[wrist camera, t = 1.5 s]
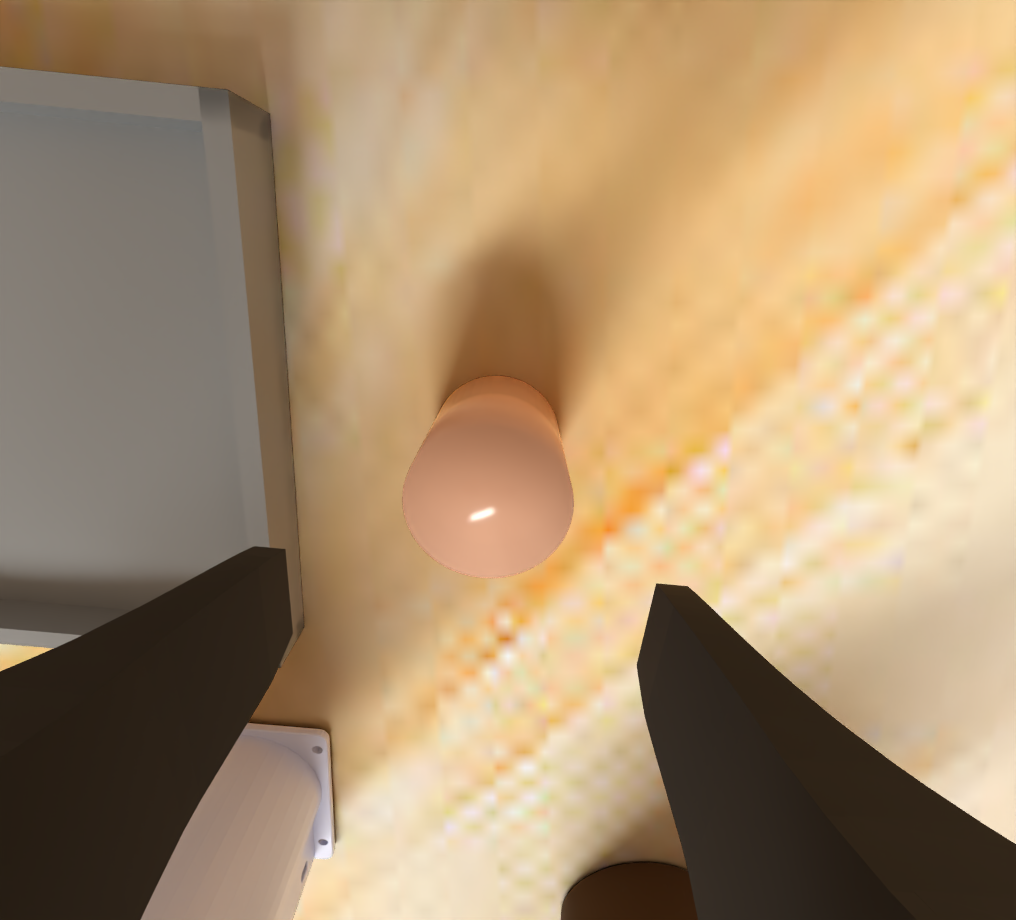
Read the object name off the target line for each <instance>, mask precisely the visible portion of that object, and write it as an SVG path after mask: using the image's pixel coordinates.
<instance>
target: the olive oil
mask: <svg viewBox="0 0 1016 920" xmlns="http://www.w3.org/2000/svg"><path fill="white" fill-rule="evenodd" d="M561 920H698V917H697V912H696V907H695V902H694V897H693V892H692V887H691V882H690V877H689V873H688V871H687V870H684V869H681V868H678V867H675V866H671V865H666V864H660V863H647V862H641V863H628V864H621V865H616V866H612V867H609V868H606V869H603V870H600V871H598V872H595V873H593V874H591V875H589V876H588V877H586V878H584V879H583V880H582V881H580V882H579V883H578V884H577V885H576V886H574V888H573V889H572V890H571V891H570V892H569V894H568V895H567V897H566V898H565V900H564V902H563V905H562V910H561Z"/></svg>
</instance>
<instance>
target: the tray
mask: <svg viewBox="0 0 1016 920" xmlns="http://www.w3.org/2000/svg"><path fill="white" fill-rule="evenodd" d="M253 546H258V547H269V548H280V549H286V560H287V571H288V583H289V594H290V605H291V616H292V627H293V635H292V637H291V639H290V642H289V644H288V647H287V649H286V651H285V654H284V656H283V658H282V661H281V663H280V665H279V668H281V666H282V664H283V663H284V661H285V659H286V658H287V656H288V654H289V652H290V651H291V649H292V647H293V646H294V644H295V642H296V640H297V639H298V637H299V635H300V634H301V632H302V630H303V628H304V615H303V600H302V586H301V571H300V556H299V541H298V526H297V511H296V497H295V482H294V467H293V452H292V437H291V422H290V407H289V393H288V378H287V363H286V348H285V333H284V318H283V303H282V289H281V274H280V259H279V244H278V229H277V214H276V200H275V185H274V170H273V155H272V140H271V125H270V114H269V113H267V112H265V111H264V110H262V109H260V108H259V107H257V106H255V105H253V104H252V103H250V102H248V101H246V100H245V99H243V98H241V97H240V96H238V95H236V94H234V93H233V92H231V91H229V90H226V89H216V88H206V87H197V86H187V85H177V84H167V83H157V82H147V81H138V80H128V79H118V78H108V77H98V76H89V75H79V74H69V73H59V72H49V71H39V70H30V69H20V68H10V67H0V644H11V645H22V646H34V647H46V648H56V647H58V646H60V645H63V644H65V643H67V642H69V641H71V640H73V639H75V638H78V637H80V636H82V635H84V634H86V633H88V632H90V631H92V630H94V629H96V628H98V627H100V626H102V625H104V624H106V623H108V622H110V621H112V620H114V619H116V618H118V617H120V616H122V615H124V614H126V613H128V612H130V611H132V610H134V609H136V608H138V607H140V606H142V605H144V604H146V603H148V602H149V601H151V600H153V599H155V598H157V597H159V596H161V595H162V594H164V593H166V592H168V591H170V590H172V589H174V588H175V587H177V586H179V585H181V584H183V583H185V582H186V581H188V580H190V579H192V578H194V577H196V576H198V575H199V574H201V573H203V572H205V571H207V570H208V569H210V568H212V567H214V566H216V565H218V564H219V563H221V562H223V561H225V560H227V559H229V558H231V557H233V556H235V555H237V554H238V553H240V552H242V551H245V550H247V549H249V548H251V547H253Z"/></svg>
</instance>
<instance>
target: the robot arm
mask: <svg viewBox="0 0 1016 920" xmlns="http://www.w3.org/2000/svg"><path fill="white" fill-rule="evenodd" d="M292 635H293V627H292V616H291V605H290V594H289V583H288V571H287V560H286V549H280V548H269V547H258V546H253V547H251V548H249V549H247V550H245V551H242V552H240V553H238V554H237V555H235V556H233V557H231V558H229V559H227V560H225V561H223V562H221V563H219V564H218V565H216V566H214V567H212V568H210V569H208V570H207V571H205V572H203V573H201V574H199V575H198V576H196V577H194V578H192V579H190V580H188V581H186V582H185V583H183V584H181V585H179V586H177V587H175V588H174V589H172V590H170V591H168V592H166V593H164V594H162V595H161V596H159V597H157V598H155V599H153V600H151V601H149V602H148V603H146V604H144V605H142V606H140V607H138V608H136V609H134V610H132V611H130V612H128V613H126V614H124V615H122V616H120V617H118V618H116V619H114V620H112V621H110V622H108V623H106V624H104V625H102V626H100V627H98V628H96V629H94V630H92V631H90V632H88V633H86V634H84V635H82V636H80V637H78V638H75V639H73V640H71V641H69V642H67V643H65V644H63V645H60V646H58V647H56V648H54V649H52V650H49V651H47V652H45V653H43V654H40V655H38V656H36V657H34V658H31V659H29V660H26V661H24V662H22V663H19V664H17V665H15V666H12V667H10V668H8V669H5V670H3V671H0V920H293V918H294V915H295V912H296V909H297V906H298V903H299V900H300V897H301V894H302V891H303V888H304V886H305V883H306V880H307V877H308V874H309V871H310V868H311V865H312V862H313V859H314V858H315V859H329V858H331V857H332V856H333V853H334V850H335V838H334V818H333V798H332V778H331V758H330V738H329V734H328V733H327V732H326V731H324V730H322V729H313V728H302V727H290V726H278V725H266V724H254V723H248V721H249V720H250V718H251V716H252V715H253V713H254V711H255V710H256V708H257V706H258V705H259V703H260V701H261V700H262V698H263V696H264V694H265V693H266V691H267V689H268V688H269V686H270V684H271V682H272V680H273V678H274V676H275V674H276V672H277V669H278V667H279V665H280V663H281V661H282V658H283V656H284V654H285V651H286V649H287V647H288V644H289V642H290V639H291V637H292ZM637 670H638V677H639V684H640V690H641V697H642V702H643V708H644V714H645V719H646V722H647V726H648V730H649V733H650V737H651V740H652V744H653V747H654V751H655V755H656V758H657V762H658V765H659V768H660V772H661V775H662V779H663V782H664V786H665V789H666V793H667V796H668V800H669V803H670V806H671V810H672V813H673V817H674V820H675V824H676V827H677V831H678V834H679V838H680V841H681V845H682V849H683V853H684V857H685V861H686V865H687V869H688V873H689V877H690V882H691V887H692V892H693V897H694V902H695V907H696V912H697V917H698V920H1016V844H1015V843H1013V842H1011V841H1010V840H1008V839H1007V838H1005V837H1003V836H1002V835H1000V834H999V833H997V832H995V831H994V830H992V829H991V828H989V827H987V826H986V825H984V824H983V823H981V822H980V821H978V820H977V819H975V818H974V817H972V816H971V815H969V814H968V813H966V812H965V811H963V810H962V809H960V808H959V807H957V806H956V805H954V804H953V803H951V802H950V801H948V800H947V799H945V798H944V797H942V796H940V795H939V794H937V793H936V792H934V791H933V790H931V789H930V788H928V787H927V786H925V785H924V784H923V783H921V782H920V781H918V780H917V779H915V778H914V777H913V776H911V775H910V774H908V773H907V772H905V771H904V770H903V769H901V768H900V767H898V766H897V765H896V764H894V763H893V762H891V761H890V760H889V759H887V758H886V757H885V756H883V755H882V754H881V753H879V752H878V751H877V750H875V749H874V748H873V747H871V746H870V745H869V744H867V743H866V742H865V741H863V740H862V739H861V738H859V737H858V736H857V735H855V734H854V733H853V732H851V731H850V730H849V729H847V728H846V727H845V726H844V725H842V724H841V723H840V722H839V721H837V720H836V719H835V718H833V717H832V716H831V715H830V714H829V713H827V712H826V711H825V710H824V709H822V708H821V707H820V706H819V705H818V704H817V703H815V702H814V701H813V700H812V699H811V698H809V697H808V696H807V695H806V694H805V693H803V692H802V691H801V690H800V689H799V688H798V687H796V686H795V685H794V684H793V683H792V682H791V681H789V680H788V679H787V678H786V677H785V676H784V675H783V674H781V673H780V672H779V671H778V670H777V669H776V668H775V667H774V666H772V665H771V664H770V663H769V662H768V661H767V660H766V659H765V658H764V657H763V656H762V655H760V654H759V653H758V652H757V651H756V650H755V649H754V648H753V647H752V646H751V645H750V644H749V643H748V642H746V641H745V640H744V639H743V638H742V637H741V636H740V635H739V634H738V633H737V632H736V631H735V630H734V629H733V628H732V627H731V626H730V625H729V624H728V623H727V622H725V621H724V620H723V619H722V618H721V617H720V616H719V615H718V614H717V613H716V612H715V611H714V610H713V609H712V608H711V607H710V606H709V605H708V604H707V603H706V602H705V601H703V600H702V599H701V598H700V597H699V596H698V595H697V594H696V593H695V592H694V591H692V590H691V589H690V588H689V587H688V586H678V585H667V584H656V587H655V591H654V595H653V600H652V604H651V608H650V612H649V616H648V620H647V625H646V629H645V633H644V637H643V641H642V645H641V650H640V654H639V658H638V662H637Z"/></svg>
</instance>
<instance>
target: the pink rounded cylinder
mask: <svg viewBox="0 0 1016 920" xmlns="http://www.w3.org/2000/svg"><path fill="white" fill-rule="evenodd" d="M402 500H403V511H404V516H405V519H406V522H407V525H408V528H409V530H410V532H411V534H412V536H413V537H414V539H415V540H416V542H417V543H418V544H419V546H420V547H421V548H422V549H423V550H424V551H425V552H426V553H427V554H428V555H429V556H430V557H431V558H433V559H434V560H435V561H437V562H438V563H440V564H441V565H443V566H445V567H447V568H449V569H451V570H453V571H455V572H458V573H461V574H464V575H468V576H473V577H479V578H501V577H507V576H513V575H516V574H519V573H522V572H525V571H527V570H529V569H531V568H533V567H535V566H537V565H538V564H540V563H542V562H543V561H544V560H545V559H547V558H548V557H549V556H550V555H551V554H552V553H553V552H554V551H555V550H556V549H557V548H558V546H559V545H560V544H561V542H562V541H563V539H564V537H565V536H566V534H567V532H568V529H569V526H570V524H571V520H572V516H573V507H574V499H573V490H572V486H571V481H570V477H569V472H568V468H567V464H566V459H565V455H564V451H563V446H562V442H561V437H560V433H559V429H558V424H557V420H556V417H555V414H554V412H553V410H552V408H551V406H550V404H549V403H548V402H547V400H546V399H545V398H544V397H543V396H542V394H541V393H540V392H538V391H537V390H536V389H535V388H533V387H532V386H530V385H529V384H527V383H525V382H523V381H521V380H518V379H515V378H512V377H506V376H485V377H481V378H477V379H474V380H471V381H469V382H467V383H465V384H463V385H462V386H460V387H459V388H458V389H456V390H455V391H454V392H453V393H452V394H451V395H450V396H449V397H448V398H447V400H446V401H445V402H444V404H443V406H442V408H441V409H440V411H439V413H438V415H437V417H436V419H435V421H434V423H433V425H432V426H431V428H430V430H429V432H428V434H427V436H426V438H425V440H424V442H423V444H422V446H421V447H420V449H419V451H418V453H417V455H416V457H415V459H414V461H413V463H412V465H411V466H410V468H409V471H408V473H407V476H406V479H405V483H404V487H403V497H402Z"/></svg>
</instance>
